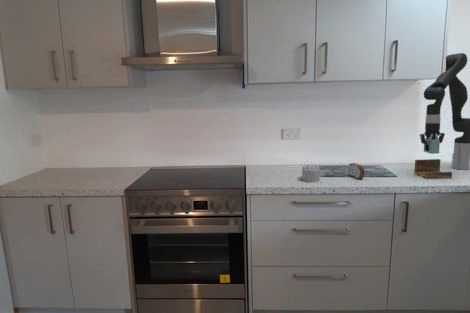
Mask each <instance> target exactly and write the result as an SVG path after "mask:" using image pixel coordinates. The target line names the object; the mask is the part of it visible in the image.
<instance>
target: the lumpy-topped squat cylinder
mask: <svg viewBox="0 0 470 313" xmlns="http://www.w3.org/2000/svg"><path fill="white" fill-rule="evenodd" d="M320 171H321V169H320V167H319V165H315V164H306V165H303V166H302V167H301V181H304V182H306V183H318V182H319V180H321V179H320V178H321V177H320V176H321V174H320V173H321V172H320ZM317 181H318V182H317Z"/></svg>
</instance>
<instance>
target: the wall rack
mask: <svg viewBox="0 0 470 313" xmlns="http://www.w3.org/2000/svg"><path fill="white" fill-rule="evenodd" d="M441 160H442V159H441V158H440V159H439V158H432V159H414V172H413V174H414V175H416V176H419V177H420V178H423V179H425V180H434V179H435V180H437V179H452V178H453V172H451V171H441V170H440V169H441Z"/></svg>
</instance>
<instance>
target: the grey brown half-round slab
mask: <svg viewBox="0 0 470 313" xmlns="http://www.w3.org/2000/svg"><path fill="white" fill-rule="evenodd" d="M348 174H349V175H350V176H351V177H352V178H355V179H357V180H361V179H364V178H365V169H364V167H363V166H362V165H361V164H358V163H357V162H356V163H355V162H352V163H349V164H348Z"/></svg>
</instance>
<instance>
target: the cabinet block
mask: <svg viewBox="0 0 470 313" xmlns="http://www.w3.org/2000/svg"><path fill="white" fill-rule="evenodd" d="M425 139H426V137H425ZM438 139H439V138H438ZM438 139H431V140H430V141H429V151H426V150H425V144H423V152H424V153H428V154H431V155H432V154H434V155H435V154H440V144H441V143H440V140H438Z"/></svg>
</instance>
